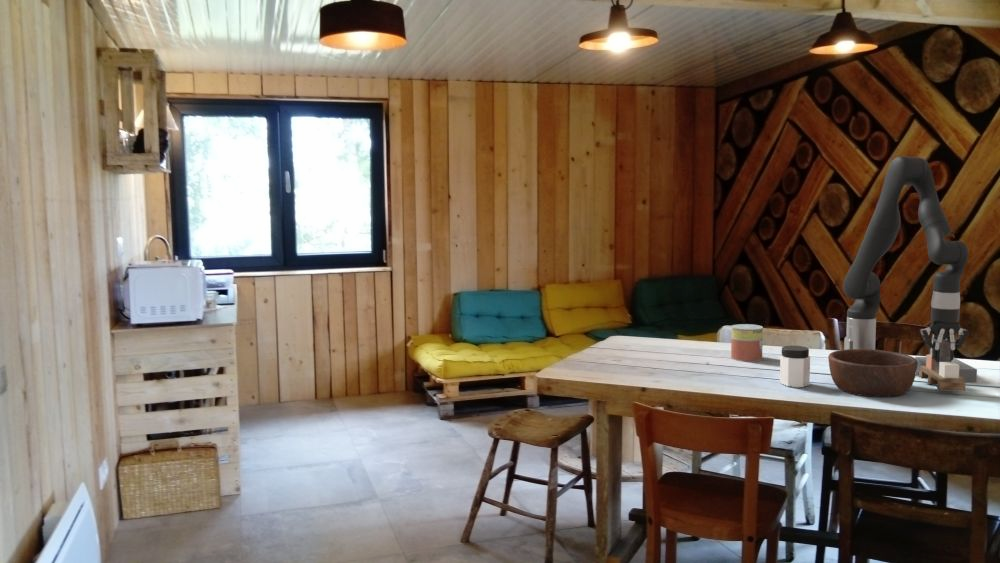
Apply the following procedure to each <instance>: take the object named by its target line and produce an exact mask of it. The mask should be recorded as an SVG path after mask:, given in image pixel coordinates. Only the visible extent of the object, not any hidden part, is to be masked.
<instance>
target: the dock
mask: <svg viewBox="0 0 1000 563" xmlns="http://www.w3.org/2000/svg"><path fill="white" fill-rule="evenodd" d="M914 358H915V359H916V360H917V362H918V365H917V371H919V372H920V366H926V358H927V356H915V357H914ZM951 362H954V363H956V364H958V365H959V376H961V377H963V378H964V379H966V381H965V383H966V382H969V383H971V382H975V383H976V382H977V379H978V378H977V376H978V375H977V374H978V369H977V368H976V367H974V366H971V365H969V364H967V363H965V362H963V361H961V360H960V359H958V358H955V357H954V359H953V360H952V361H951Z"/></svg>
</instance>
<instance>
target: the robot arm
mask: <svg viewBox="0 0 1000 563" xmlns="http://www.w3.org/2000/svg"><path fill="white" fill-rule="evenodd" d="M904 186H912V187H914V189H915V191H916V192H917V193H918V197H919V205H918V210H917V215H918V221H919V223H920V225H921V227H922V229H923V232H924V234H925V237H926V246H927V254H928V258H929V260H931V262H933V264H935V265H939V266H940V265H946V267H945V268H944V270H942V271H939V272H935V274H934V276H933V285H932V286H933V288H932V295H931V296H932V297H931V301H930V306H931V307H930V309H931V310H930V324H929V325H928V327H926V328H920V329H919V333H920V335H921V337H922V339H923V342H924V344H925V346H926V347H928V348H930V349H931V355H932V359H934V361H936V362H939V350H938V349H939V347H940V343H941V342H942V340H948V341H950V343H951V350H950V362H951V361H952V360H953V359H954V358H955V357H954V356H955V350H956V349H961V348H962V346H963V345H964V343H965V341H966V339H967V337H968V336H969V334H970V331H969V330H967V329H965V328H962V327H961V325H960V313H961V312H960V310H961V309H960V308H961V293H960V292H961V279H962V275H963V273H964V270H965V267H966V266H967V265H966V264H967V262H968V259H969V248H968V246H967V245H966V243H965V242H963V241H962V240H961V241H959V240H946V241H945V240H944V239H946V238H947V237H949V236H950V234H951V232H952V227H951V225H950V223H949V221H948V218H947V216H946V214H945V213H944V210H943V207H942V206H941V203H940V200H939V197H938V196H939V195H938V193H937V189H936V185H935V180H934V177H933V173H932V169H931V167H930V164H929V162H928V161H927V160H926V159H924V158H922V157H917V156H909V155H908V156H906V155H899V156H897V157H895V158H894V159H892V161H891V162H890V164H889V166H888V169H887V170H886V174H885V178H884V182H883V185H882V189H881V193H880V196H879V199H878V201H877V203H876V206H875V209H874V212H873V214H872V216H871V218H870V221H869V223H868V227H867V229H866V231H865V234H864V237H863V240H862V242H861V244H860V247H859V249H858V251H857V254H856V256H855V258H854V260H853V262H852V264H851V266H850V268H849V269H848V272H847V273H846V275H845V277H844V279H843V283H842V290H843V292H844V295H845V296H846V297H847V298H848V299H852V300H855V301H854V302H853V304H852V305H851V306H850V307H849V308H848V309H847V310H846V336H845V337H844V344H843V346H844V348H843V350H847V349H871V350H876V333H877V331H876V330H877V329H876V328H877V313H878V311H879V308H880V300H881V281H880V278H879V276H878V275H877V274H876V273H874V272H873V270H874V268H875V267H876V265H877V263H878V262H879V261H880V260H881V258H882V257H883V256H885V254H886V253H887V252H888V251H889V250H890V248H892V246H893V244H894V242H896V238H897V236H898V233H899V231H900V229H901V223H902V222H901V221H902V220H901V213H900V209H899V207H900V206H899V200H900V197H901V193H902V190H903V189H904ZM931 333H932V334H933V337H932V340H931V338H930V334H931ZM957 333H958V336H957V338H956V340H955V336H956V334H957Z"/></svg>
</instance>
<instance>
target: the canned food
mask: <svg viewBox="0 0 1000 563" xmlns="http://www.w3.org/2000/svg"><path fill="white" fill-rule="evenodd" d="M763 330H764V327H763V326H762V325H758V324H753V323H752V324H751V323H750V324H749V323H740V324H739V323H738V324H731V334H730V335H731V339H730V340H731V341H730V342H731V344H730V345H731V350H730V358H731V359H732V360H734V361H737V362H738V361H739V362H747V363H749V362H750V363H751V362H752V363H753V362H759V361H762V360H764V359H763V341H764V339H763V338H764V336H763V335H764V334H763V333H764V331H763Z"/></svg>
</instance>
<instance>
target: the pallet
mask: <svg viewBox="0 0 1000 563" xmlns="http://www.w3.org/2000/svg"><path fill="white" fill-rule="evenodd" d="M938 350H939V362H936V361H935V370H930V369H929V368H927V367H926V366H920V371H919V374H918V375H919V376H918V378H920V379H922V380H923V379H926V380H927V383H928V384H929V385H936V389H937V390H939V391H945V392H946V391H948V392H949V391H950V392H951V391H957V392H959V391H960V392H965V391H966V379H964V378H963V377H961V376H959V378H944V377H942V376H940V375H939V363H940V362H950V350H951V343H950V341H948V340H946V339H942V342H941V343H940V347H939V349H938Z"/></svg>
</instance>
